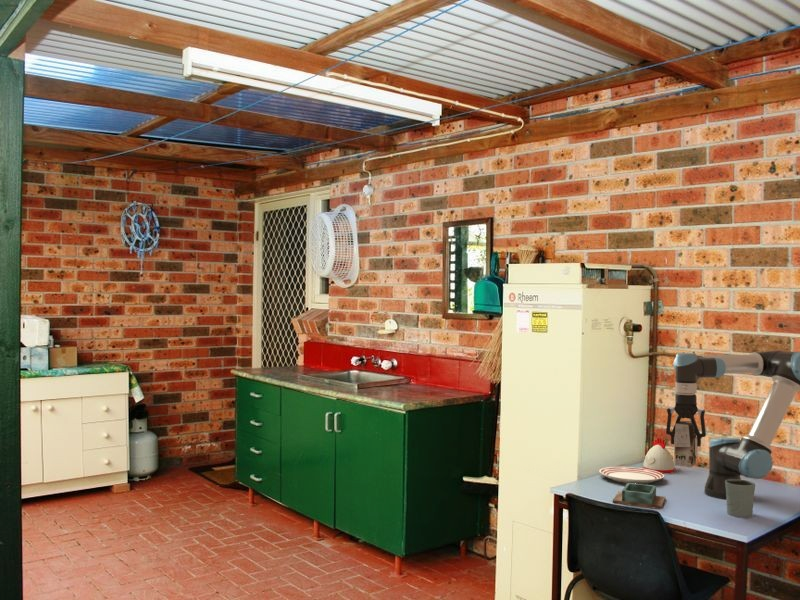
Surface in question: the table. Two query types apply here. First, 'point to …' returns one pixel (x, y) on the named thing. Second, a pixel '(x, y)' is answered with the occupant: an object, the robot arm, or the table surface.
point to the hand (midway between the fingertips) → (685, 453)
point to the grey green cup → (739, 497)
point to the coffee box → (685, 444)
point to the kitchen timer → (659, 458)
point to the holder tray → (639, 496)
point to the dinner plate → (631, 474)
